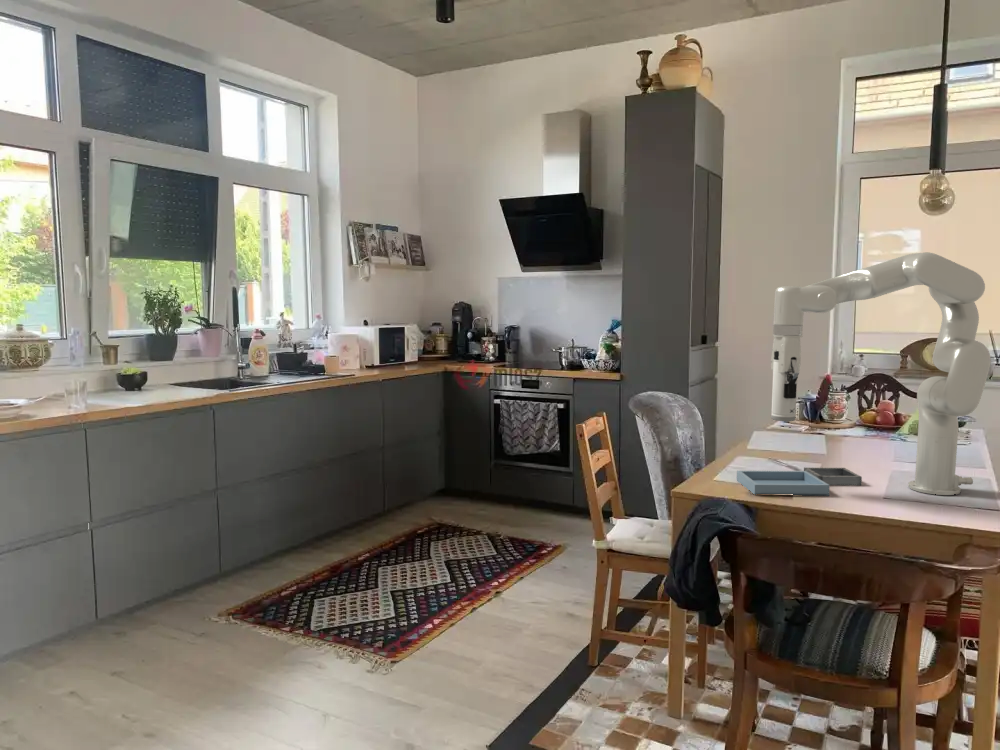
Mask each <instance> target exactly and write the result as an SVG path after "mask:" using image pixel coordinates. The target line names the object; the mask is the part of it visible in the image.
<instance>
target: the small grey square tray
mask: <svg viewBox="0 0 1000 750" xmlns="http://www.w3.org/2000/svg"><path fill="white" fill-rule="evenodd" d="M803 471H807V472H808V473H810V474H812V475H813V476H815V477H817V478H819V479H820V480H822V481H824V482H825V483H827V484H829V485H830V486H862V480H863V479H862V476H861V475H859V474H857V473H855V472H853V471H851V470H850V469H848V468H846V467H803Z"/></svg>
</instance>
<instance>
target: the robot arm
mask: <svg viewBox="0 0 1000 750" xmlns="http://www.w3.org/2000/svg"><path fill="white" fill-rule="evenodd" d="M915 286H925V287H928V292H929V294H930V297H932V299H933V300H934V301H935V303H937V305H938V306H939V309H940V312H941V315H942V317H941V325H940V329H939V333H938V336H937V339H936V343H935V347H934V350H933V354H932V362H933V363H932V364H933V365H934V367H936V368H937V369H938V370H940V371H942V372H945V373H947V376H939V375H936V376H931V377H928V378H926V379H924V380H923V381H922V382H921V383H920V384H919V386H918V388H917V392H916V401H917V402H916V403H917V409H918V429H917V440H916V441H917V443H916V460H915V475H914V476H915V477H914V480H911V481H909V482H908V484H907V486H908V488H909V489H910V488H911V490H912V491H915V492H919V493H924V494H928V495H935V494H936V495H937V496H955V495H954V494H956V495H959V494H961V493H960V492H962V491H961V490H962V489H961V488H960V486H962V485H970V486H971V485H973V484H974V483H973V482H974V481H973V480H974V479H973V478H972V477H962V475H960V476H959V475H957V474H956V467H957V456H958V455H957V453H958V452H957V451H958V450H957V449H958V441H959V440H958V439H959V419H958V417H965V416H969V415H970V414H972V413H973V412H974V411H975V410H976V408H977V407H978V406H979V404H980V401H981V399H982V396H983V393H984V389H985V386H986V384H987V383H986V382H987V378H988V376H989V375H988V374H989V372H990V367H991V363H992V362H991V361H992V359H991V353H990V351H989V349H988V348H987V346H986V345H985V344H984V343H982V342H980V341H978V340H976V337H977V331H978V326H979V323H980V321H979V320H980V317H979V316H980V315H979V310H978V307H977V304H976V302H977V301H978V300H980V298H982V296H983V295H984V293H985V289H986V284H985V280H984V279H983V277H982V276H981V275H980V274H979V273H978V272H976V271H974V270H973V269H970V268H968V267H965V266H963V265H961V264H959V263H957V262H956V261H952V260H950V259H948V258H946V257H944V256H942V255H939V254H937V253H933V252H916V253H910V254H905V255H902V256H899V257H896V258H893V259H890V260H887V261H886V260H885V261H883V262H880V263H876V264H873V265H870V266H866V267H864V268H861V269H856V270H855V271H854V270H853V271H851V272H850V271H849V272H848V273H844V274H842V275H838V276H833V277H830V278H827V279H825V280H821V281H818V282H814V283H811V284H809V285H805V286H803V287H802V286H800V285H799V286H796V285H793V286H792V285H786V286H785V285H783V286H778V287H777V288H775V291H774V303H773V304H774V305H773V306H774V307H773V332H772V337H773V340H772V349H771V357H770V370H771V371H773V364H774V352H776V351H779V356H778V358H779V359H778V360H779V362H778V372H779V373H784V372H785V382H786V384H784V398H787V399H795V398H796V399H797V394H796V387H798V378H799V374H800V370H801V356H802V355H801V354H802V353H801V352H802V351H801V347H802V346H801V338H803V334H804V333H803V330H804V312H805V313H809V314H810V313H813V314H826V313H829V312H830V311H832V310H833V309H834V308H835V307H836V305H839V304H841V303H847V302H854V301H855V302H856V301H865V300H870V299H875V298H879V297H881V296H884V295H888V294H891V293H895V292H898V291H900V290H905V289H908V288H910V287H915ZM788 370H792V372H787V371H788ZM788 375H790V377H789V376H788Z"/></svg>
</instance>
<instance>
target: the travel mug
mask: <svg viewBox="0 0 1000 750" xmlns="http://www.w3.org/2000/svg"><path fill="white" fill-rule="evenodd" d="M778 356H779V351H776V352H774V364H773V370H772V391H771V393H772V394H771V415H770V418H771V420H772V421H773V420H774V421H778V422H794V421H796V414H797V413H796V412H797V397H796V398H795V399H787V398H784V384H786V382H785V372H784V373H779V372H778V362H779V360H778V359H779V358H778ZM787 372H792V370H788V371H787ZM788 376H789V377H790V375H788ZM797 387H798V386H797ZM797 387H796V395H797V394H798V393H797V391H798V390H797Z"/></svg>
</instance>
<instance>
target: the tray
mask: <svg viewBox="0 0 1000 750" xmlns="http://www.w3.org/2000/svg"><path fill="white" fill-rule="evenodd" d="M736 480H737V481H738V482H737V481H736V482H737V483H739V484H740V483H741V484H742V485H743V486H744V487H743V486H742V485H741V484H740V485H741V486H742V487H743V488H745V487H746V488H747V489H748V490H750V491H751V492H752V493H753V494H755V495H756V494H793V495H802V496H801V497H830V487H831V485H829V484H827V483H825V482H824V481H822V480H820V479H819V478H817V477H815V476H813V475H812V474H810V473H808V472H807V471H804V470H736ZM746 488H745V489H746ZM747 489H746V490H747ZM748 490H747V491H748ZM750 491H749V492H750ZM751 492H750V493H751ZM752 493H751V494H752ZM753 494H752V495H753Z"/></svg>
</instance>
